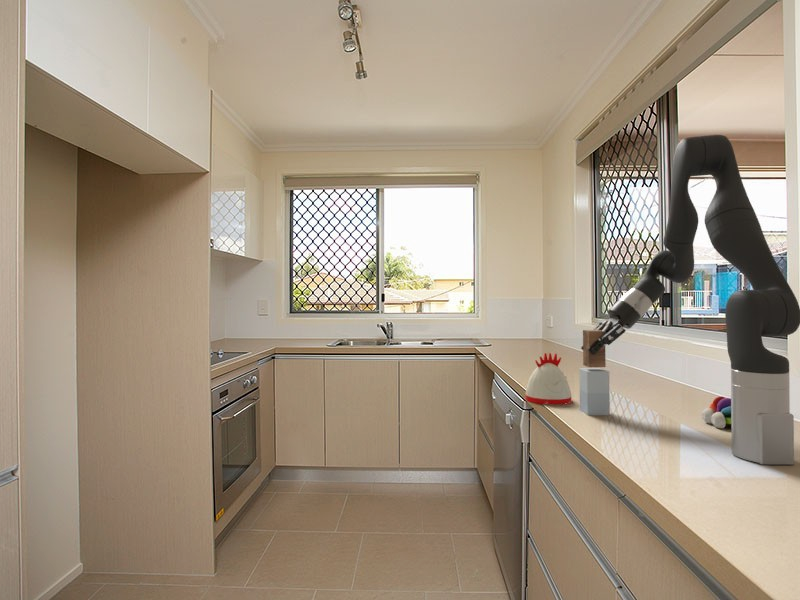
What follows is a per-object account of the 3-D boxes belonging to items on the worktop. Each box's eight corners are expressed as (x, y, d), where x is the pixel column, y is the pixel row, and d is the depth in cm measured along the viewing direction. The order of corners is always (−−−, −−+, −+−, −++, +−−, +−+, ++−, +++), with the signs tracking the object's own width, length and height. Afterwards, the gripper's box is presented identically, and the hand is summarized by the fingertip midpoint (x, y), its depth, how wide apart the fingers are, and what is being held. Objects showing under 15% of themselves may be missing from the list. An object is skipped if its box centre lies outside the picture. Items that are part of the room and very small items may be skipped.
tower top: (609, 393, 128) (609, 371, 128) (587, 393, 129) (587, 371, 129) (600, 389, 134) (600, 368, 134) (579, 389, 135) (579, 368, 135)
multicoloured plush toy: (732, 421, 121) (732, 393, 121) (757, 432, 111) (756, 401, 111) (697, 421, 122) (697, 393, 122) (719, 431, 112) (719, 401, 112)
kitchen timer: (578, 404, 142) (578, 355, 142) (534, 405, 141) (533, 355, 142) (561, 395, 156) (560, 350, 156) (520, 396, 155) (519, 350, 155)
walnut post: (605, 367, 129) (605, 330, 129) (589, 367, 129) (588, 331, 129) (599, 364, 134) (598, 329, 134) (583, 365, 134) (582, 330, 134)
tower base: (609, 415, 128) (609, 393, 128) (587, 415, 129) (587, 393, 129) (600, 410, 134) (600, 389, 134) (579, 410, 135) (579, 389, 135)
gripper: (609, 299, 139) (568, 340, 139) (632, 298, 124) (586, 344, 125) (627, 316, 138) (587, 358, 139) (652, 318, 124) (607, 364, 124)
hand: (587, 351), depth 132 cm, fingers closed on walnut post, 4 cm apart
